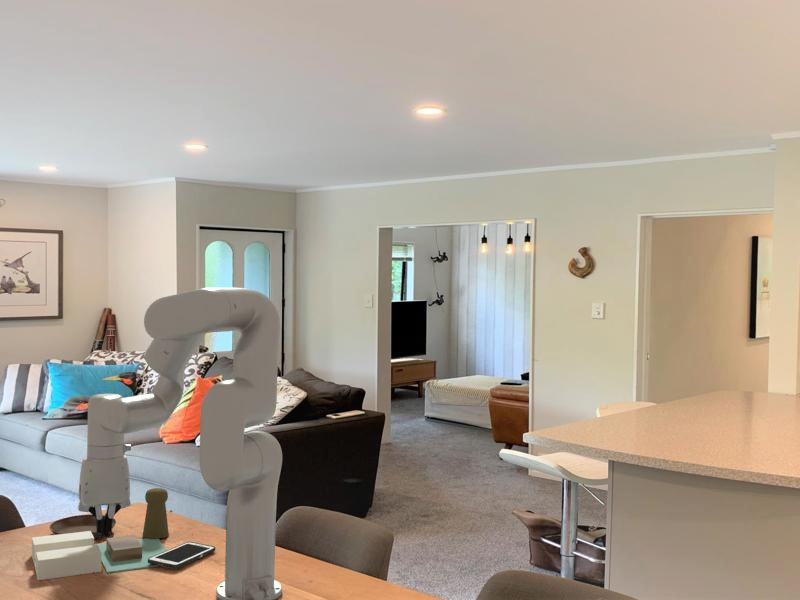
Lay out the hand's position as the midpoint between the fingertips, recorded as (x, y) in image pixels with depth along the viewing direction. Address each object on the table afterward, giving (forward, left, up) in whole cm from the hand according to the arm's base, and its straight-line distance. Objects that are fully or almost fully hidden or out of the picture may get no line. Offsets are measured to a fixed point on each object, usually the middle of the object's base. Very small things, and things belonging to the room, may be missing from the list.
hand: (103, 535), depth 175 cm
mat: (0, -6, -5) cm, 8 cm away
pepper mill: (+11, -13, -5) cm, 18 cm away
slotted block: (0, +8, -5) cm, 9 cm away
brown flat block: (+1, -4, -2) cm, 5 cm away
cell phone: (-7, -15, -5) cm, 18 cm away
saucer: (+20, +2, -6) cm, 21 cm away
